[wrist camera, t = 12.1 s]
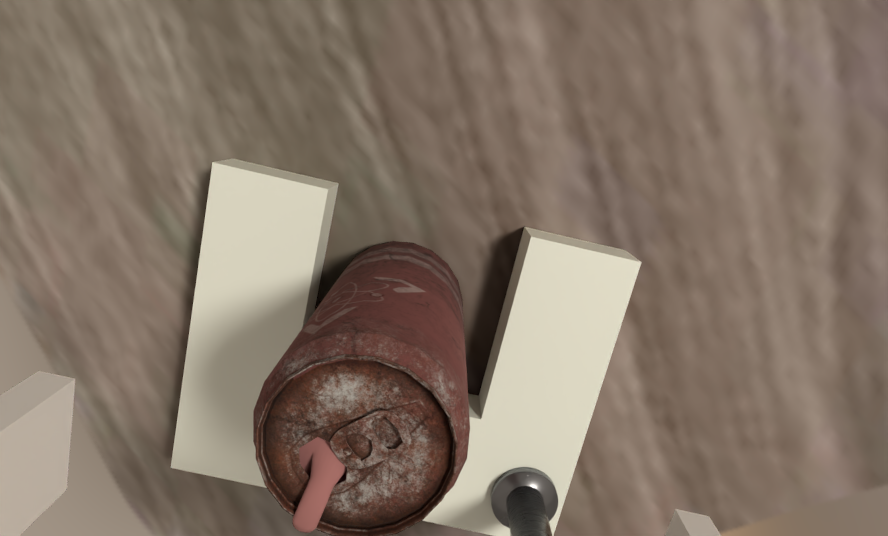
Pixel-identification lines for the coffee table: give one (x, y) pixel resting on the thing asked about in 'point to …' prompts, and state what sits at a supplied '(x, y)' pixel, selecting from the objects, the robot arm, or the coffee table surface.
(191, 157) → the coffee table surface
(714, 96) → the coffee table surface
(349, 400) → the can
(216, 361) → the u-shaped block
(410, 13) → the coffee table surface
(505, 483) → the hook post
